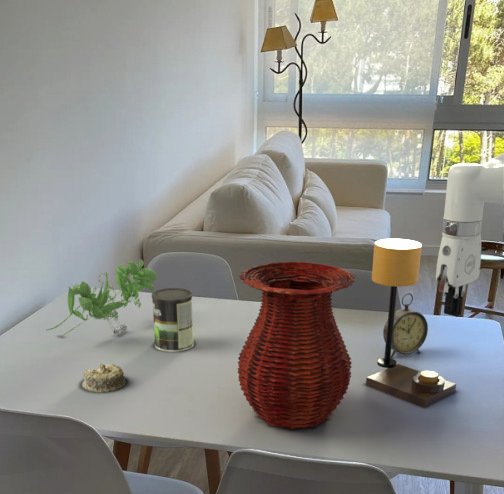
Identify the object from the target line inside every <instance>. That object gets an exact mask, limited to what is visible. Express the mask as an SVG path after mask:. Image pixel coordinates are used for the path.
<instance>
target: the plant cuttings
mask: <svg viewBox="0 0 504 494" xmlns="http://www.w3.org/2000/svg"><path fill="white" fill-rule="evenodd" d="M127 264H128V266H127V265H125V264H123V263H120V265H117V267H116V269H115V280H116V284H117V286H118V287H119V289H120V290H119V291H118V292H117V293H116V291H115V288H113V286H112V285H109V279H108V277H109V275H108V272H107V271H105V273H104V272H99V274H98V275H97V279H98V282H99V283H101V285H100V289H99V291H98V294H96V291H97V286H96V287H93V289H92V288H91V286H90V285H89V284H88V283H87V282H85V281H81V282H80V284H75V285H73V284H71V286H72V288H71V287H70V286H68V292H67V307H68V312H69V315H68V316H67V317H66V318H65V319H64V320H63V321H61V322H60V323H59V324H57V325H55V326H53V327H51V328H47V329H45V331H50V330H55V329H57V328H58V327H60V326H61V325H63V324H64V323H66V321H67V320H68V319H69V318H70V317H71V316H73V315H74V316H76V317H77V318H79V319H81V320H83V322H86V321H88V320H89V319H90V318H95V319H99V320H100V319H103V320H106V322H107V324H108V325H109V327H110V328H111V329H112V333H113V335H116V336H118V337H120V336H123V335H124V334H125V332H126V331H127V329H128V325H126V324H125V323H121V322H120V321H119V312H118V311H117V310H118V309H120V308H127V306H128V304H129V303H131V304H132V301H133V305H135V306H137V308H138V309H140V308H141V306H142V302H140V300H141V299H140V298H139V296H140V294H139V292H141V291H142V290H144V289H146V288H147V289H148V290H149V291H153V292H155V291H156V289H155V286H154V285H153V283H154V282H155V281H156V279H157V277H158V274H157V272H156V271H155V270H153V269H151V268H149V267H143V266H144V265H145V263H144V261H143V259H139V260H138V264H137V263H136V262H135V261H134V260H129V261H128V262H127ZM142 267H143V268H142ZM101 275H103V276H105V281H101V279H100V278H99V277H101ZM130 275H131V277H130ZM104 284H105V286H104V289H103V285H104ZM111 290H112V291H113V292H114V296H112V295H111V294H110V291H111ZM119 294H120V300H119V301H116V297H117V295H119ZM76 295H79V297H78V302H79V306H77V308H75V309H74V307H75V300H76V299H75V296H76ZM80 307H81V308H82V312H81V311H80V310H78V309H79V308H80ZM86 311H88V314H87V315H86V317H84V315H83V314H84V312H86ZM111 319H114V321H115V322H116V323H117V325H118V326H116V327H114V326H113V325H112V322H110V320H111ZM83 322H81V323H80V324H78V325H76V326H74V327H72V328H71V329H69V330H68V331H66V332H65V333H63V334H62V335H61V337H63V336H65V335H67V334H68V333H70V332H71V331H73V330H74V329H76V328H77V327H79V326H80V325H82V324H83ZM118 327H119V328H118ZM120 331H122V332H123V333H122V334H120Z"/></svg>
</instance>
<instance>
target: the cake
mask: <svg viewBox="0 0 504 494" xmlns="http://www.w3.org/2000/svg"><path fill="white" fill-rule="evenodd" d="M123 371H124V370H123V368H121V367H120V366H118V365H116V364H112V363H107V364H106V365H105V364H103V363H100V364H99V368H98V369H92V368H91V369H86V370H84V373H83V381H82V382H81V386H82V388H83V389H85V390H88V391H89V392H95V393H104V392H105V393H108V392H114V391H117V390H119V389H121V388H123V387H125V385H126V384H127V380H126V378H125V376H124V372H123Z"/></svg>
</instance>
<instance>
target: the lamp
mask: <svg viewBox="0 0 504 494" xmlns="http://www.w3.org/2000/svg"><path fill="white" fill-rule="evenodd" d="M422 247H423V245H422V243H421V242H419V241H416V240H412V239H406V238H405V239H404V238H383V239H379V240H376V241H374V245H373V257H372V269H371V270H372V271H371V281H372V282H373V283H375V284H378V285H382V286H386V287H390V293H389V301H388V302H389V304H388V313H387V320H388V323H387V334H386V343H385V345H384V357H381V358H379V359H377V360H376V361H377V362H376V364H377V366H378V367H380V368H383V369H387V368H393V367H395V366H396V365H397V364H398V363H397V360H396V359H394V358H391V354H392V349H391V348H392V337H393V327H394V316H395V312H396V306H397V305H396V304H397V296H398V287H401V288H402V287H411V286H414V285H417V284H418V282H419V275H420V265H421V259H422V249H423V248H422Z"/></svg>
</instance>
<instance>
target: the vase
mask: <svg viewBox="0 0 504 494" xmlns="http://www.w3.org/2000/svg"><path fill="white" fill-rule="evenodd" d="M238 277H239V280H241V281H242V284H245V285H247V286H248V287H250V288H253V289H256V290H258V291H261V294H262V296H261V298H262V299H261V303H260V308H259V309H258V311H259V312H258V315H257V317H256V318H255V322H253V323H254V325H253V326H252V329H250V332H249V333H248V336H247V337H246V339H247V340H245V341H244V345H243V346H242V349H241V350H240V353H238V355H239V357H238V359H237V360H238V361H237V364H238V368H237V374H238V376H237V377H238V380H237V381H238V382H239V386H240V390H241V391H243V393H242V395H243V396H244V397H245V399H246V400H245V401H247V402H248V404H249V406H250V407H251V408H252V410H253V412H254V413H256V415H257V416H258V418H260V419H261V420H262V421H264V422H265V423H267V424H268V425H270V426H271V427H272V426H273V427H277V428H283V429H288V430H299V429H307V428H315V427H316V426H318V425H319V424H321V423H324V422H325V421H326V420H327V419H328V417H330V416H331V415H332V414H333V412H334V411H335V410H336V409H337V408H338V406H339V405H340V404H341V401H342V400H344V399H345V398H344V396H345V395H346V394H347V390H349V386H350V384H351V383H350V382H351V377H352V372H351V369H352V363H353V362H352V361H351V360H352V358H351V357H350V354H349V353H348V352H349V350H348V349H347V345H346V344H345V340H343V336H342V333H341V332H340V329H339V326H338V324H337V322H336V319H335V316H334V312H333V311H334V308H332V307H333V305H332V304H333V302H332V300H333V298H332V296H333V295H332V294H333V293H334V292H338V291H340V290H343V289H347V288H349V287H350V286H353V285H354V284H353V283H355V282H356V276H355V274H354V273H352V272H350V271H349V270H345V269H343V268H342V267H339V266H336V265H335V266H334V265H328V264H325V263H316V262H305V261H285V262H279V261H277V262H270V263H265V264H264V263H263V264H258V265H256V266H250V268H246V269H245V270H244V271H242V272H240V275H238Z"/></svg>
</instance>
